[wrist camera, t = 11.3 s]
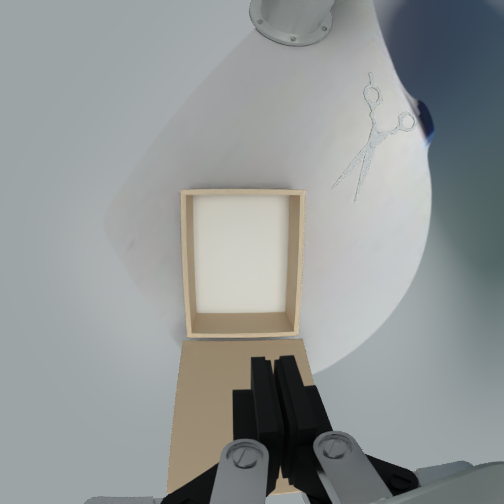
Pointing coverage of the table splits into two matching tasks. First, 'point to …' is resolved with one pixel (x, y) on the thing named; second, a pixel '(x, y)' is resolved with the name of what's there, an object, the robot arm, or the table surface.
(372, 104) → the scissors
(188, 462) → the lid
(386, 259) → the table surface
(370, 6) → the table surface
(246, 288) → the box
